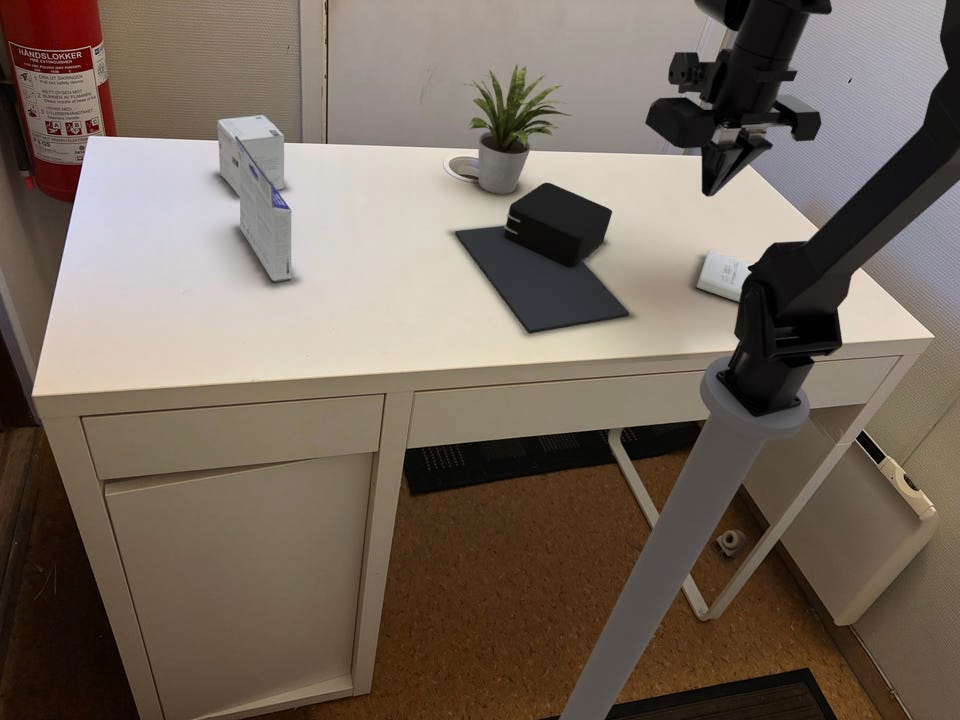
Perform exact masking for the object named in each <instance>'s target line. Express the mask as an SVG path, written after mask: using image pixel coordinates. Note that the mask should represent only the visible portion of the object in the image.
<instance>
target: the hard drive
mask: <svg viewBox="0 0 960 720" xmlns="http://www.w3.org/2000/svg"><path fill="white" fill-rule="evenodd" d="M753 264H754V263H750V262H748V261H746V260H745V261H744V260H741V259H738V258H735V257H732V256H729V255H726V254H724V253H723V254H722V253H720V252H718V251H713V250H710V249H708V252H707V254H706V256H705V259H704V262H703V265H702V268H701V270H700V275H699V277H698V281H697V283H696V288H698V289H699V290H700V289H701V290H703V291H706V292H707V293H711V294H715V295H717V296H721V297H724V298H726V299H728V300H731V301H735V302H738V303H739V301H740V295H741V291H742V289H741V287H742V285H743V282H744V280H745V279H746V277H747V276H748V275H749V274H750V273H751V271H749V270H748V266H750V265H753Z"/></svg>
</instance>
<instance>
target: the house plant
mask: <svg viewBox="0 0 960 720" xmlns="http://www.w3.org/2000/svg"><path fill="white" fill-rule="evenodd" d="M518 64H519V63H516V65H515V67H514V70H513V72H512V75H511V79H510V84H509V89H508V94H507V97H506V105H505V104H504V97H503V91H502V88H501V85H500V82H499V80H498V79H497V77H496V76H495V74H494V73H493V72H492V70H490V69H488V72H489V75H488V74H485V76H486V77H488V78H490V79H491V82H492V87H493V91H494V94H495V101H496V105H495V101H494V98H493V96H492V94H491V92H490V90H489V89H488V87H487V85H486V83H485V82H484V80H482V79H480V78H479V77H477V79H478V80H479V82H481V83H482V84H483V86H484V88H485V89H486V90H484V89H483V88H482V87H481V85H479V84H478V83H477V82H475V80H473V79H471V81H472V82H473V84H470V83H466V84H465V83H464V84H463V83H461V86H462V85H463V86H471V87H476V88H477V89H478V91H479V92H480V94H481V95H482V96H483V98H479V97H478V98H477V97H476V98H473V103H475V104H476V105H477V106H478V107H479V108H480V109H481V110H482V111H483V112H484V113H485V114H486V116H487V118H488V119H489V121H490V124H491V125H490V124H488V123H487V122H486V121H485V120H484V119H483V118H480V117H477V116H475V117H473V118H472V119H471V121H470V123H469V125H468V127H470V126H471V127H470V128H469V130H468V131H470V130H473V129H481V128H482V129H484V128H485V129H488V130H489V131H486V132H483V133H481V134H480V135H479V136H478V185H479V186H480V188H482V189H483V190H485V191H487V192H489V193H493V194H498V195H499V194H500V195H506V194H510V193H513V192H514V191H515V189H516V188H517V184H518V182H519V180H520V177H521V175H522V171H523V169H524V166H525V163H526V161H527V159H528V157H529V153H530V151H531V144H530V142H529V137H528V136H529V135H532V134H533V133H534V134H535V133H536V134H545V135H549V136H552V137H554V135H553V133H552V132H551V130H550V129H548V128H552V129H554V130H555V131H557V129H559V127H557V126H555V125H553V124H552V123H551V122H549V121H548V120H543V119H542V120H540V119H539V120H534V121H532V120H533V119H534V118H536V117H539V116H541V115H542V116H543V115H562V116H567V117H568V116H569V117H571V116H572V115H571V114H567V113H564V112H561V111H558V110H556V109H557V108H555V107H554V106H552V105H547V104H562V105H568V103H567V102H563V101H557V100H546V101H543V100H544V99H545V98H546V97H547V96H548V95H549V94H550V93H551V92H553V91H556V90H557V89H559V88H561V87H562V85H554V86H551V87H548V88H546V89H544V90H543V91H541V92H540V93H539V94H537V95H536V96H534V97H533V98H532V99H530V100H529V101H528V102H525V100H526V99H527V97H528V96H529V95H530V94H531V92H532V91H533V90H534V88H535V87H536V86H537V85H538V84H539V83H540V82H541V81H542V80H543V78H544V77H545V76H546V74H543V75H542V76H540V77H539V78H537V79H536V80H534V81H533V82H532V83H531V84H530V85H528V86H527V87H526V74H527V65H526V66H523V67H522V68H521V69H520V70H519V72H518V69H519V67H518V66H519V65H518ZM525 87H526V88H525ZM541 101H542V102H541ZM524 102H525V103H524ZM544 104H545V105H544ZM523 105H525V106H524V107H523V109H521V112H519V111H520V108H521V107H522V106H523ZM540 105H541V106H540ZM536 106H538V107H537V108H535V109H533V108H534V107H536ZM545 108H550V109H545ZM518 112H519V113H518ZM530 121H531V122H530ZM535 125H542V126H537V127H532V126H535ZM530 127H531V128H530Z"/></svg>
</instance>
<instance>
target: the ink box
mask: <svg viewBox="0 0 960 720" xmlns="http://www.w3.org/2000/svg"><path fill="white" fill-rule="evenodd" d="M235 139H236V144H237V151H238V158H239V166H240V196H239V229H240V231H241V232H242V234H243V235H244V237H245V239H246V240H247V242H248V244H249V246H250V247H251V248H252V250H253V251H254V253H255V255H256V256H257V258H258V259H259V261H260V263H261V265H262V267H263V268H264V269H265V271H266V273H267V274H268V276H269V278H270V279H271V281H273V282H281V281H282V282H283V281H287V280H291V279H292V209H291V207H289V205H288V204H287V202H286V201H285V200H284V198H283V197H282V195H281V194H280V192H279V191H278V190H276V189H275V187H274V183H273V182H271V181H270V180H269V179H268V177H267V176H266V175H265V173H264V172H263V170H262V169H261V168H260V166H259V165H258V163H257V162H256V161H255V160H254V159H253V158H252V156H251V155H250V153H249V152H248V151H247V149H246V148H245V146H244V145H243V144H242V142H241V141H240V140H239V138H238V137H237V136H235Z"/></svg>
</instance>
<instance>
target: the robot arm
mask: <svg viewBox="0 0 960 720" xmlns="http://www.w3.org/2000/svg"><path fill="white" fill-rule="evenodd" d="M693 2H694V4H695V6H696V8H697V9H698V10H699V11H701V12H702V13H704V14H705V15H707V16H708V17H709V18H711V19H713V20H714V21H716V22H717V23H719V24H720V25H722V26H723V27H725V28H727V29H728V30H730V31H732V32H736V35H735V39H734V41H733V44H732V47H731V48H721V50H720V51H719V52H718V53H717V56H716V58H715V61H700V57H699V53H698V52H695V51H691V52H690V51H683V52H682V51H680V52H679V51H675V52H674V53H673V54H674V55H673V56H672V59H671V62H670V64H669V68H668V73H667V74H668V75H667V80H668V83H669V84H670V85H673V86H678V88H677V89H678V90H677V93H678V94H686V93H699V96H698V99H699V100H701V101H702V102H704V103H705V104H710V105H711V107H710V108H709V109H704V108H703V107H701V106H700V105H699V104H697V103H696V102H694V101H693V100H691V99H690V98H688V97H687V96H685V97H683V96H682V97H681V96H680V97H659V98H658V99H656V100H655V101H653V102H651V104H650V107H649V109H648V112H647V115H646V119H645V121H644V124H645V125H646V126H648V127H649V128H650V129H652V130H653V132H655V133H657V135H659V136H661V137H662V138H663V139H664V140H666V142H668V143H669V144H671V145H672V146H673V147H676V148H679V149H683V150H684V149H698V148H700V154H701V156H700V157H701V193H702V195H704V196H705V197H706V198H708V197H714V196H715V195H716V194H717V193H718V192H719V191H720V190H722V189H723V188H724V187H725V186H726V185H727V184H728V183H729V182H730V181H732V179H734V178H735V177H736V176H737V175H738V174H740V172H741V171H742V170H743V169H745V168H746V167H747V166H749V165H750V164H751V163H753V162H754V161H755V160H756V159H757V158H758V157H760V156H761V155H763V153H765V152H766V151H771V150H772V148H773V147H774V144H773V143H772V142H771V141H769V140H768V139H766V137H767V134H768V132H767V130H768V128H773V127H775V128H777V127H790V128H791V130H790V136H791V139H792V140H793V141H795V142H810V141H811V142H812V141H815V139H816V137H817V135H818V134H819V133H818V132H819V130H820V128H821V127H822V125H823V124H822V118H821V112H820V111H819V110H817V109H816V108H814V107H812V106H811V105H809V104H807V103H806V102H804V101H803V100H801V99H799V98H797V97H796V96H794V95H792V94H779V93H780V91H781V88H782V86H783V83H784V82H794V81H795V79H796V76H797V74H798V72H799V71H798V69H795V68H794V67H792V66H791V64H792V62H793V60H794V57H795V54H796V52H797V50H798V47H799V44H800V42H801V40H802V38H803V35H804V33H805V30H806V28H807V26H808V23H809V21H810V18H811V17H812V15H819V16H830V15H831V13H832V12H833V6H832V2H831V0H693ZM939 43H940V45H941V49H942V52H943V56H944V59H945V62H946V66H947V69H946V70H945V72H944V73H943V74H942V76H941V77H940V78H939V80H938V81H937V83H936V84H935V85H934V87H933V88H932V90H931V93H930V96H929V100H928V103H927V106H926V110H925V111H926V112H925V115H924V118H923V122H922V124H921V125H920V126H919V128H918V129H917V130H916V131H915V132H914V133H913V134H912V135H911V136H910V137H909V139H907V140H906V142H905V143H904V144H903V145H902V146H901V147H899V148H898V150H896V152H894V154H893V155H892V156H890V157H889V158H888V160H887V161H885V163H884V164H883V165H882V166H881V167H880V168H879V169H878V170H877V171H875V173H874V174H873V175H872V176H871V177H870V178H869V179H867V181H866V182H865V183H864V184H862V186H861V187H860V188H858V190H857V191H856V192H855V193H854V194H853V195H851V197H850V198H849V199H848V200H847V201H846V202H845V203H844V204H843V205H842V206H840V208H839V209H838V210H837V211H836V212H835V213H834V214H832V216H831V217H830V218H829V219H828V220H827V221H825V223H824V224H823V225H822V226H821V227H820V228H819V229H818V230H817V231H815V233H814V234H813V235H812V236H811V237H810V238H809V239H808V240H795V241H777V242H773V243H772V244H771V245H769V246H768V247H767V248H766V249H765V251H764V252H763V253H762V255H761V257H760V258H759V259H758V260H757V261H756V262H754V263H752V264H753V265H750V266H748V270H749V271H751V273H750V274H749V275H748V276H747V277H746V279H745V280H744V282H743V285H742V287H741V289H742V291H741V295H740V301H739V302H738V308H737V313H736V319H735V325H734V331H733V334H734V336H735V338H736V339H737V340H738V343H737V345H736V347H735V349H734V351H733V353H732V355H731V356H732V357H731V359H730V361H729V363H728V367H729V369H727V370H722V371H718V372H717V374H716V378H717V379H718V380H719V381H720V382H721V383H722V384H723V385H724V387H725V388H726V389H727V390H728V391H729V392H730V393H731V394H732V395H733V396H734V397H735V398H736V399H737V400H738V401H739V402H740V403H741V404H742V406H743V407H744V408H745V409H746V410H747V411H748V412H749V413H750V414H751V415H752V416H754V417H760V416H764V415H768V414H771V413H775V412H779V411H783V410H787V409H790V408H794V407H798V406H800V404H801V402H802V401H801V400H800V399H799V398H798V397H797V396H796V394H797V393H798V391H799V389H800V387H801V388H802V385H803V384H804V382H805V381H806V379H807V377H808V376H809V373H810V372H811V370H812V369H813V367H814V365H815V364H816V361H815V360H814V359H813V358H814V357H821V356H822V357H830V356H832V355H833V354H834V353H836V352H837V351H838V350H840V349H841V348H842V347H843V337H842V330H841V323H840V316H839V315H840V314H839V309H838V308H839V307H840V306H841V304H842V303H843V302H844V301H845V300H846V298H847V297H848V295H849V292H850V286H851V281H852V277H853V276H854V274H855V273H856V272H857V271H858V270H859V269H860V268H861V267H862V266H864V265H865V264H866V263H867V262H868V261H869V260H870V259H872V258H873V257H874V256H876V254H877V253H879V252H880V251H881V250H882V249H883V248H884V247H885V246H886V245H887V244H889V243H890V242H891V241H892V240H893V239H894V238H896V237H897V236H898V235H899V234H900V233H901V232H902V231H903V230H905V229H906V228H907V227H908V226H909V225H910V224H912V223H913V221H915V220H916V219H917V218H919V216H921V215H922V214H923V213H924V212H925V211H926V210H927V209H929V208H930V207H931V206H932V205H933V204H934V203H936V202H937V201H938V200H939V199H940V198H941V197H942V196H943V195H945V194H946V193H947V192H948V191H949V190H950V189H952V187H954V186H955V185H957V183H958V182H959V181H960V0H945V5H944V10H943V16H942V22H941V27H940V33H939Z"/></svg>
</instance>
